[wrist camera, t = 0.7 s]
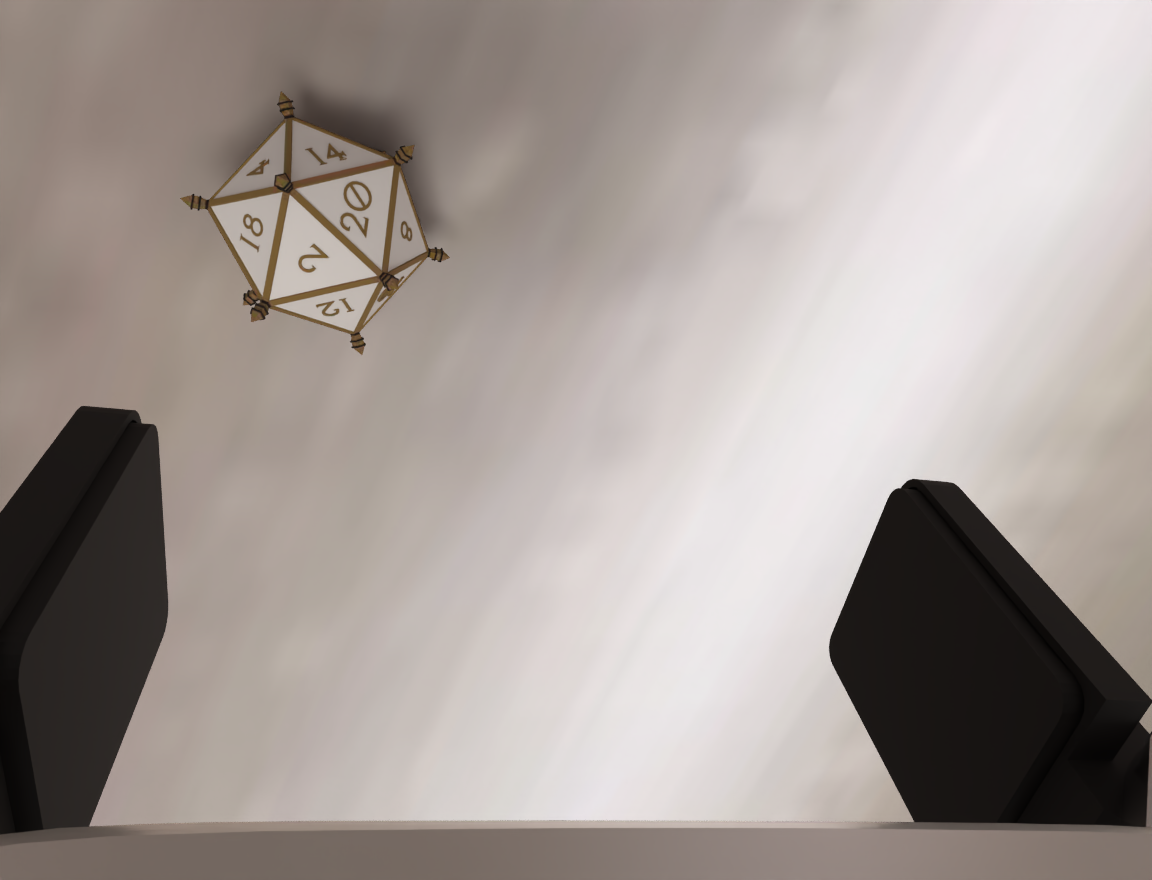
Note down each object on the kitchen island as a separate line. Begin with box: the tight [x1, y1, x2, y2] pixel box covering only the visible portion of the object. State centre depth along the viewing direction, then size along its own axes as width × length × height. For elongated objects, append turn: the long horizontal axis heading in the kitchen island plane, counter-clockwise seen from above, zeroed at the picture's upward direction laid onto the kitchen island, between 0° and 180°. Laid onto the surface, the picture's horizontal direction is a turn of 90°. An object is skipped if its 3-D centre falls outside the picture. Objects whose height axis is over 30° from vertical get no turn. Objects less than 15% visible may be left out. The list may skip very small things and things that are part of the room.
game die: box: [180, 92, 450, 355], centre depth 34 cm, size 9×8×10 cm
